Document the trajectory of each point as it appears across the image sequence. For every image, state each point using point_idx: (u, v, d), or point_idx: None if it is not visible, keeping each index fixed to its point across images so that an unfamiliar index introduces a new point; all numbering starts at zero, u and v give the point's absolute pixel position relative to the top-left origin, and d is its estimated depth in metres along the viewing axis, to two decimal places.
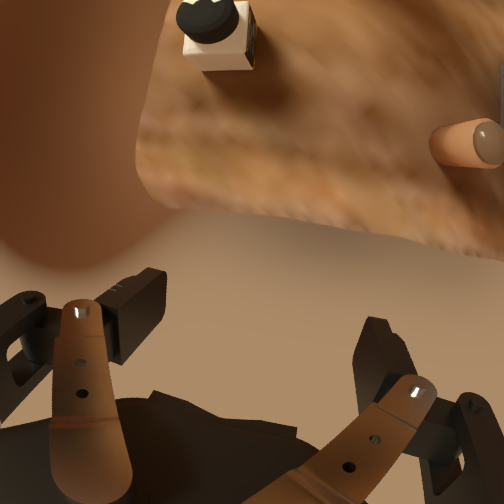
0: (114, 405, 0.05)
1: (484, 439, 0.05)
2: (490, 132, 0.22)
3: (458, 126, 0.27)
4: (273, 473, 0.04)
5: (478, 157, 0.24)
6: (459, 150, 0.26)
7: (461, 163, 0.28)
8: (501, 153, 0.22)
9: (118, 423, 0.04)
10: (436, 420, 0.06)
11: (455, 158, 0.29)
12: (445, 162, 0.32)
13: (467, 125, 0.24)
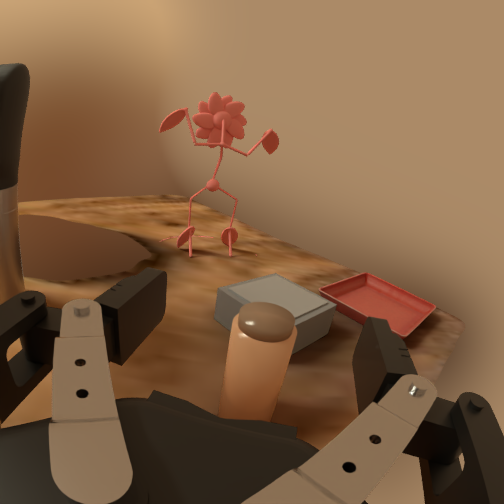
0: (114, 405, 0.05)
1: (484, 439, 0.05)
2: (254, 312, 0.24)
3: (227, 360, 0.25)
4: (273, 473, 0.04)
5: (272, 341, 0.23)
6: (253, 371, 0.23)
7: (270, 387, 0.24)
8: (283, 316, 0.25)
9: (118, 423, 0.04)
10: (436, 420, 0.06)
11: (260, 392, 0.24)
12: (259, 419, 0.25)
13: (230, 340, 0.24)
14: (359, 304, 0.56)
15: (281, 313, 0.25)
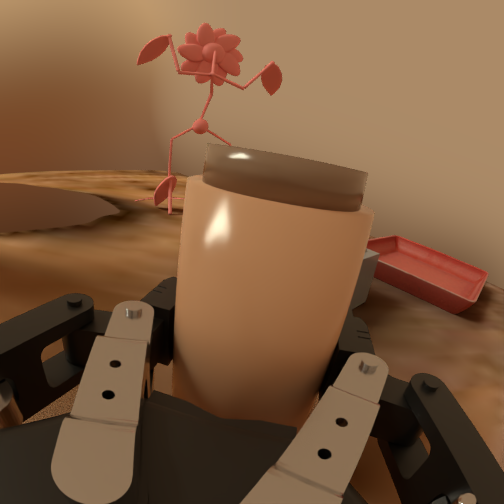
0: (137, 412, 0.05)
1: (446, 419, 0.06)
2: None
3: (175, 302, 0.09)
4: None
5: (313, 205, 0.07)
6: (246, 322, 0.07)
7: (300, 379, 0.08)
8: None
9: (133, 431, 0.04)
10: (388, 398, 0.07)
11: (270, 396, 0.08)
12: None
13: (181, 232, 0.08)
14: None
15: None
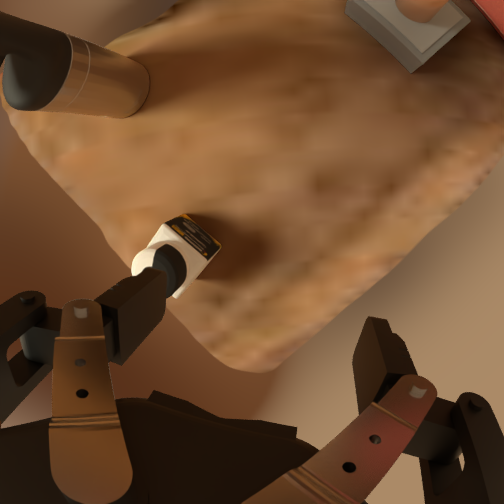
0: (114, 405, 0.05)
1: (484, 439, 0.05)
2: None
3: None
4: (273, 473, 0.04)
5: None
6: None
7: (444, 1, 0.19)
8: None
9: (118, 423, 0.04)
10: (436, 420, 0.06)
11: (437, 3, 0.20)
12: (431, 15, 0.23)
13: None
14: None
15: None
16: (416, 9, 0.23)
